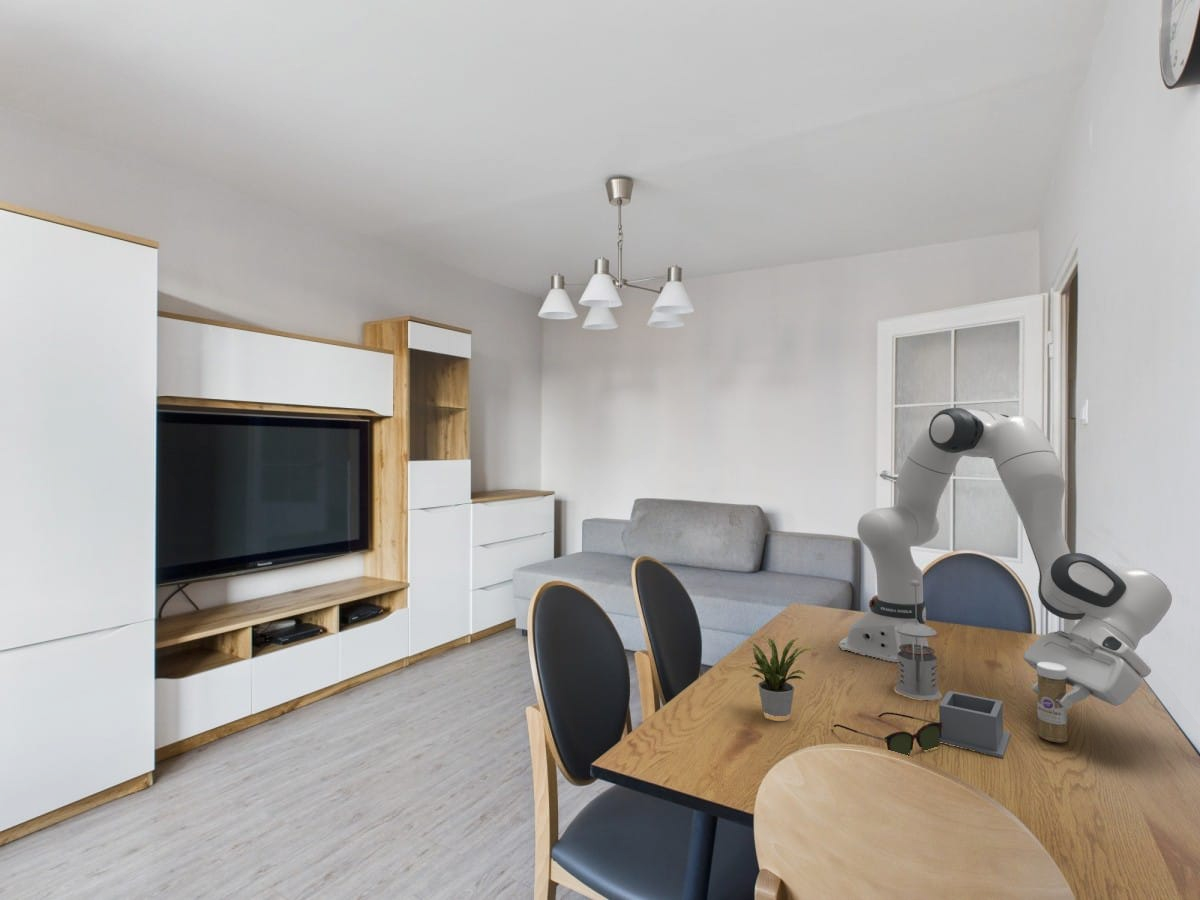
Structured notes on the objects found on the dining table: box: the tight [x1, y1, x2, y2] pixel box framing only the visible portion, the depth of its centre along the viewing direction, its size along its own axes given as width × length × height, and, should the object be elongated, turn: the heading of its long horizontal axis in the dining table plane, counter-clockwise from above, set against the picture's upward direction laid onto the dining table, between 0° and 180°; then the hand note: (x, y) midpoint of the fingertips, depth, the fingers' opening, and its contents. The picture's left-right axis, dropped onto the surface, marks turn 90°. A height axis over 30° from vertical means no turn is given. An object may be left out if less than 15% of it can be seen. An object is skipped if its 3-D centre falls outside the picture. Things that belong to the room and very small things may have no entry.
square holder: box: [938, 690, 1011, 759], centre depth 117 cm, size 11×11×7 cm
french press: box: [894, 580, 943, 700], centre depth 139 cm, size 10×12×25 cm
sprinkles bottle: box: [1036, 662, 1068, 744], centre depth 116 cm, size 5×5×14 cm
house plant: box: [747, 635, 816, 716], centre depth 129 cm, size 14×14×16 cm
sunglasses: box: [833, 712, 943, 757], centre depth 118 cm, size 14×15×5 cm
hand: (1048, 698), depth 116 cm, fingers closed on sprinkles bottle, 4 cm apart
